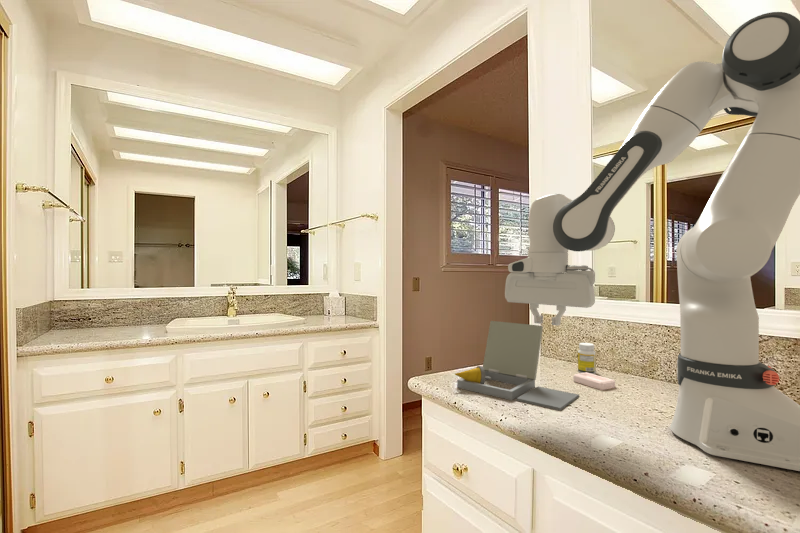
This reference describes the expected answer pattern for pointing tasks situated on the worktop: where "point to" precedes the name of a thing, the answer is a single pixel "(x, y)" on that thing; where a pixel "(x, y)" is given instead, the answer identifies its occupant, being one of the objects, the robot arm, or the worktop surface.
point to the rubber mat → (548, 398)
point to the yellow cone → (474, 375)
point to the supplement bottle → (586, 358)
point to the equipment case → (509, 359)
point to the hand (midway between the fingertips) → (547, 324)
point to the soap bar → (594, 381)
